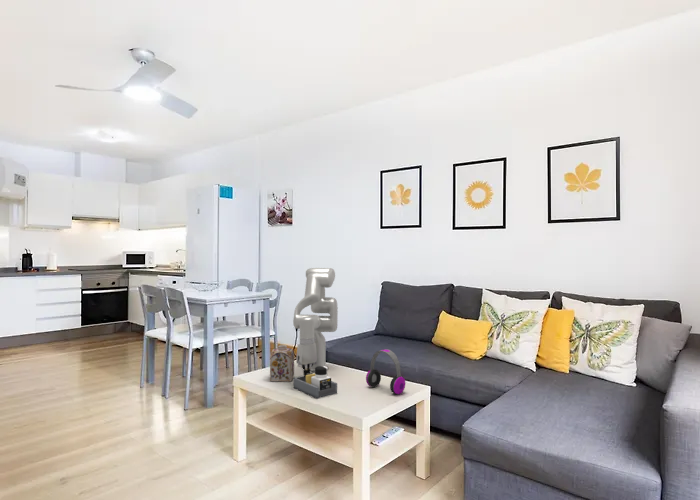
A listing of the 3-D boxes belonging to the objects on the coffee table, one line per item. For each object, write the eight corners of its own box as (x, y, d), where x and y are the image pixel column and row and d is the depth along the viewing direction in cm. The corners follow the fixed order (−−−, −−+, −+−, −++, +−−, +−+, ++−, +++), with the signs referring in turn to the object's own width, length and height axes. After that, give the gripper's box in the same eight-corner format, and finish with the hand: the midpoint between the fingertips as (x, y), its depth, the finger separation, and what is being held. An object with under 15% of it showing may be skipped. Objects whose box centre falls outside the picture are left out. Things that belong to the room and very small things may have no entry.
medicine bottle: (319, 394, 204) (319, 369, 204) (311, 391, 209) (311, 366, 209) (331, 391, 208) (331, 366, 209) (322, 388, 214) (322, 364, 214)
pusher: (301, 387, 214) (301, 373, 215) (316, 383, 220) (316, 370, 220) (307, 389, 210) (307, 375, 210) (322, 386, 216) (322, 372, 216)
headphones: (364, 387, 218) (364, 348, 219) (375, 383, 225) (375, 345, 225) (395, 397, 204) (395, 354, 204) (407, 392, 210) (407, 351, 210)
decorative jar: (291, 382, 228) (291, 348, 228) (269, 381, 228) (269, 348, 229) (294, 375, 240) (294, 343, 240) (274, 375, 240) (274, 343, 240)
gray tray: (293, 387, 218) (293, 378, 218) (313, 383, 225) (313, 373, 225) (316, 398, 201) (316, 387, 201) (337, 393, 209) (337, 383, 209)
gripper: (315, 338, 227) (315, 373, 226) (290, 342, 217) (290, 378, 217) (323, 340, 221) (323, 376, 220) (298, 344, 211) (298, 381, 211)
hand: (307, 377), depth 219 cm, fingers closed
